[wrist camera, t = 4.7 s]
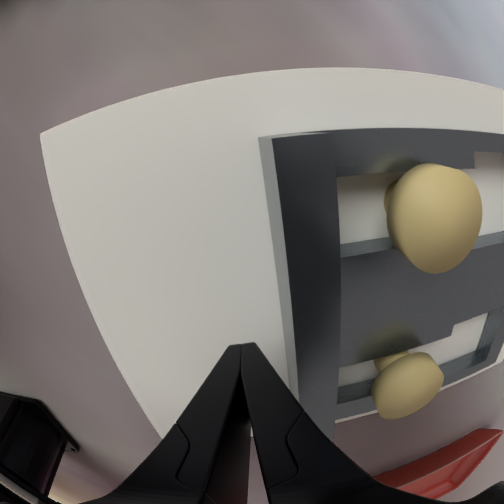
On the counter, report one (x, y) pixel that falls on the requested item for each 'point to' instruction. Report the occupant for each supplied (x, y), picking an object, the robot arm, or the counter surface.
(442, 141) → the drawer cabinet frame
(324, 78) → the board
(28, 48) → the counter surface
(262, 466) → the robot arm
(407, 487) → the plant saucer
